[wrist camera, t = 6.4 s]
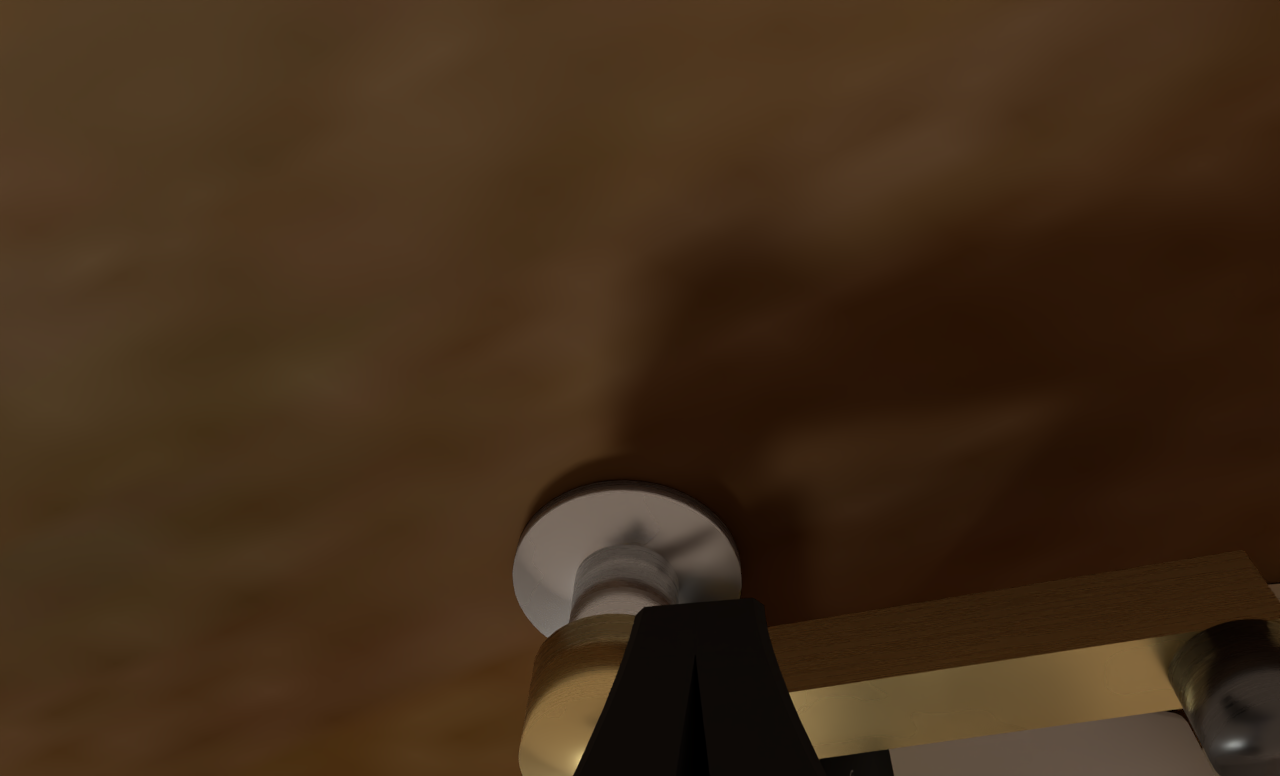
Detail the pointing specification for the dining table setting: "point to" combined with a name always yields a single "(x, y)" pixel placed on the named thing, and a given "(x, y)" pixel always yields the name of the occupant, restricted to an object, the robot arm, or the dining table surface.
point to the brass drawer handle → (986, 666)
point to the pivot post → (621, 554)
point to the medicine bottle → (1047, 752)
